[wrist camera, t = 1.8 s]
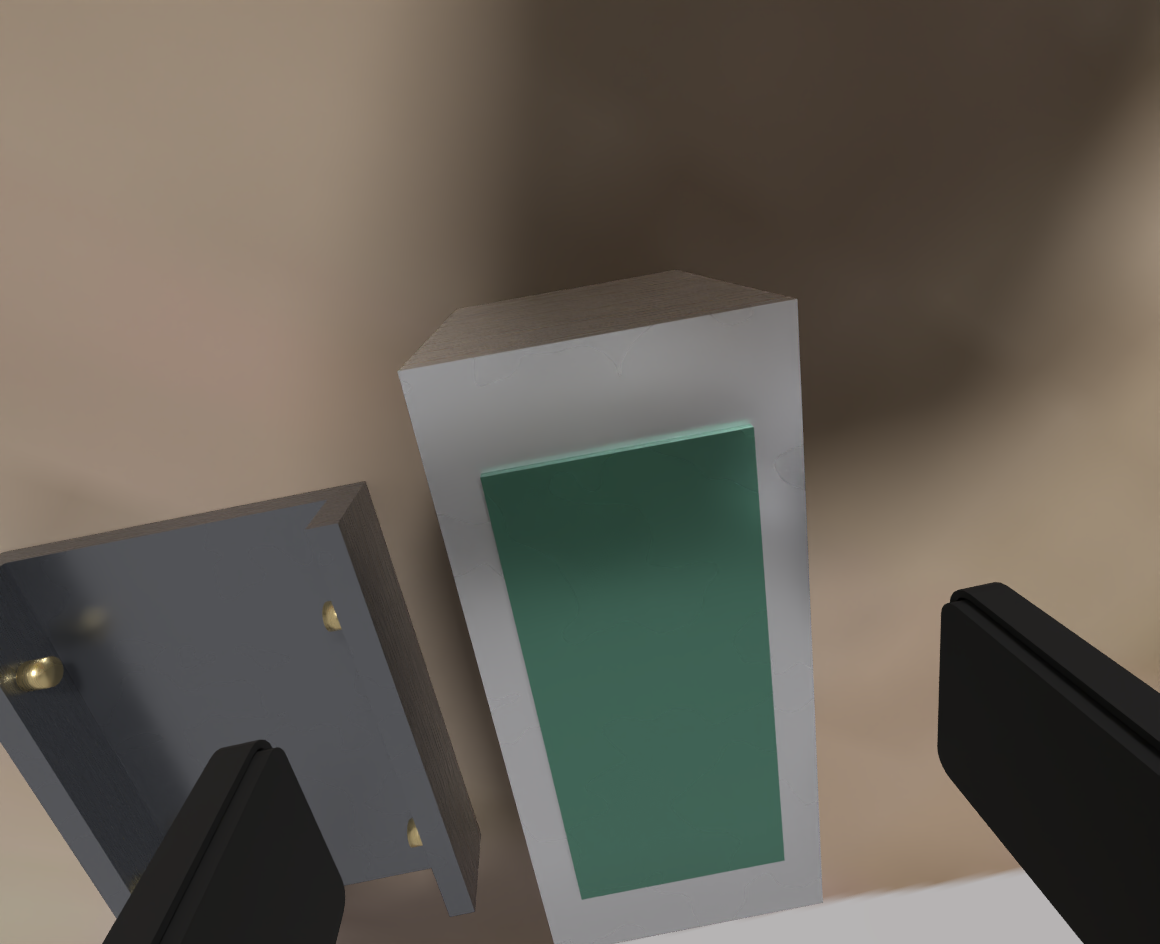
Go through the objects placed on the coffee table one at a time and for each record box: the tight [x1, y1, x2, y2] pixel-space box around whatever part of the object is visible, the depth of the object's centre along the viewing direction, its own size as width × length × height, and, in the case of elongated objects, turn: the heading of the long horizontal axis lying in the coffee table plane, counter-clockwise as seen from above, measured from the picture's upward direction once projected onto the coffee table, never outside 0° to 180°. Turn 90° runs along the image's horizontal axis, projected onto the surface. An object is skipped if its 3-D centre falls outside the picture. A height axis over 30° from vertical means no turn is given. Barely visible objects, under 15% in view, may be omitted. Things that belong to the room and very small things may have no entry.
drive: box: [398, 270, 823, 944], centre depth 13 cm, size 5×11×7 cm, turn 9°
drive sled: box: [0, 481, 481, 918], centre depth 16 cm, size 9×12×2 cm
